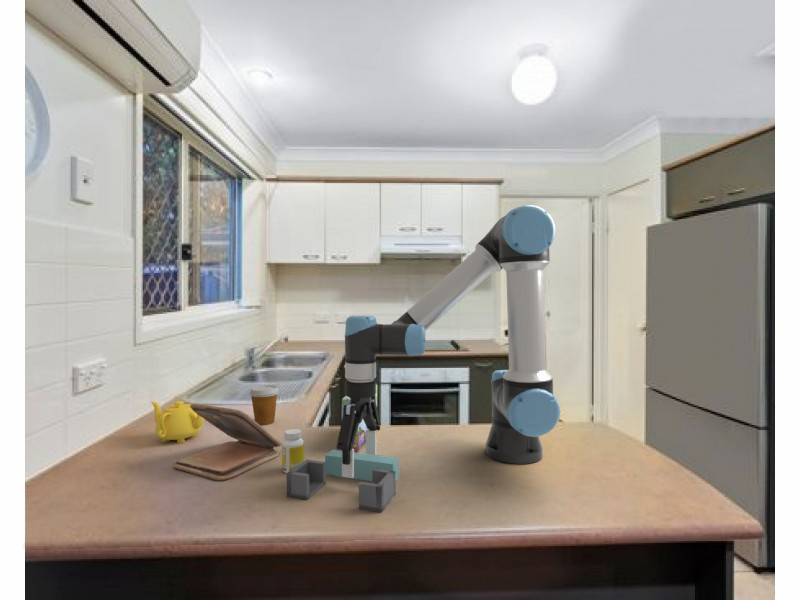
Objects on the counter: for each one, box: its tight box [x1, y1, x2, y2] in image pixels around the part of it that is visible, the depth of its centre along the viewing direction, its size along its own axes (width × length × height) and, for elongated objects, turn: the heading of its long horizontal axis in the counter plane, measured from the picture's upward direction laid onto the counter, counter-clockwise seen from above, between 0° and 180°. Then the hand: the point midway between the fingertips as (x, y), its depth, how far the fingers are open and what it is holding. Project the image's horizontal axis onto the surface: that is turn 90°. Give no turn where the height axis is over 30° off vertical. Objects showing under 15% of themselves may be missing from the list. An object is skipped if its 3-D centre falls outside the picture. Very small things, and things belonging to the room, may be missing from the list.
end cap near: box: [358, 468, 396, 513], centre depth 94 cm, size 5×8×5 cm, turn 161°
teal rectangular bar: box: [324, 449, 400, 483], centre depth 107 cm, size 18×4×5 cm, turn 70°
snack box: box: [340, 384, 378, 453], centre depth 133 cm, size 21×6×15 cm, turn 168°
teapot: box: [150, 400, 205, 445], centre depth 135 cm, size 20×15×12 cm
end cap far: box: [285, 459, 327, 501], centre depth 100 cm, size 5×8×5 cm, turn 161°
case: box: [172, 403, 282, 481], centre depth 118 cm, size 20×21×16 cm
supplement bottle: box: [281, 428, 305, 474], centre depth 111 cm, size 5×5×10 cm
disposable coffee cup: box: [249, 384, 279, 426], centre depth 152 cm, size 10×10×12 cm
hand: (360, 466), depth 107 cm, fingers open, 13 cm apart
